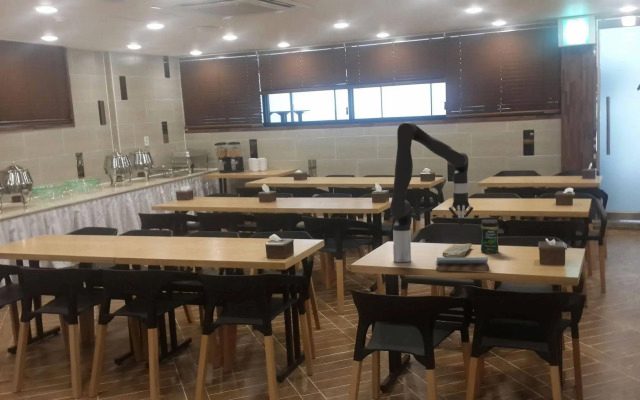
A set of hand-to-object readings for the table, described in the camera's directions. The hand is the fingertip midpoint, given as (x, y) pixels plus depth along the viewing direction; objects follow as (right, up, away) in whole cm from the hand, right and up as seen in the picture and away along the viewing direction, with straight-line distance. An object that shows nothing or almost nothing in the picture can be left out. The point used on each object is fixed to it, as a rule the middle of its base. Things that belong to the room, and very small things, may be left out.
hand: (461, 225), depth 318 cm
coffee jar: (+23, -17, +30) cm, 41 cm away
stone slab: (+5, -18, +32) cm, 36 cm away
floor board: (0, -22, -2) cm, 22 cm away
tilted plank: (-1, -19, -5) cm, 19 cm away
